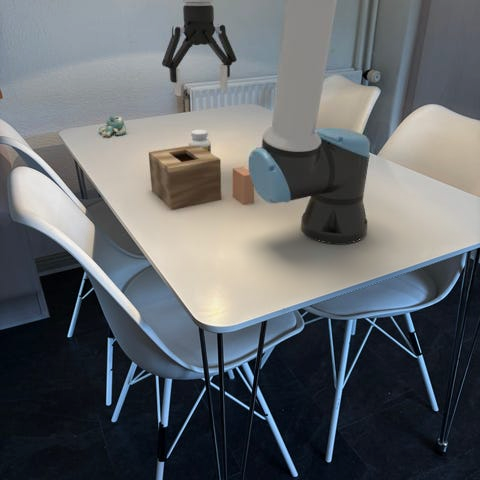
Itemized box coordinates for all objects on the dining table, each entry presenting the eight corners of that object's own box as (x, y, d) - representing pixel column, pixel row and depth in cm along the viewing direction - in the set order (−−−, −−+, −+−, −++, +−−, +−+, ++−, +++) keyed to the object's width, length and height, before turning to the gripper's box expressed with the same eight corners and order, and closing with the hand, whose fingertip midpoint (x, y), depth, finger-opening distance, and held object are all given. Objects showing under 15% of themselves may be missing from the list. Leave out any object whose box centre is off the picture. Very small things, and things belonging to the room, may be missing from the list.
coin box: (221, 199, 131) (220, 159, 125) (171, 209, 125) (168, 168, 119) (198, 182, 141) (197, 144, 136) (151, 191, 135) (148, 152, 130)
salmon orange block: (253, 202, 129) (254, 173, 125) (243, 205, 128) (244, 175, 124) (242, 194, 134) (242, 166, 130) (232, 196, 132) (232, 168, 128)
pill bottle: (208, 174, 147) (207, 135, 142) (187, 172, 148) (185, 134, 143) (213, 166, 153) (212, 129, 147) (193, 165, 154) (191, 128, 148)
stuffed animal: (89, 123, 176) (103, 109, 185) (93, 141, 181) (107, 126, 190) (117, 125, 174) (130, 110, 183) (121, 143, 179) (133, 128, 188)
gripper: (235, 2, 130) (235, 85, 140) (144, 4, 120) (151, 94, 129) (249, 3, 125) (248, 90, 135) (156, 6, 114) (162, 100, 124)
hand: (201, 92), depth 132 cm, fingers open, 13 cm apart
